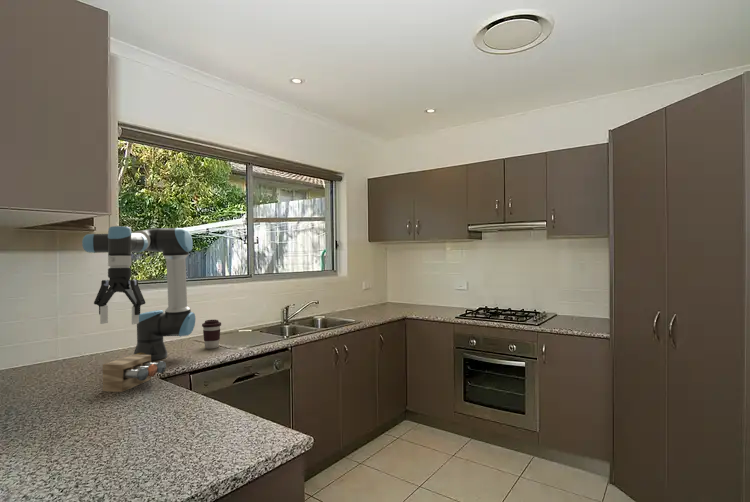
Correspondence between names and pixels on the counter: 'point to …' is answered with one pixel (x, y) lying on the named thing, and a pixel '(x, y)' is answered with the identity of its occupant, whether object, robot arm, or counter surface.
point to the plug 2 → (158, 366)
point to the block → (115, 373)
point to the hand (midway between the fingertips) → (119, 323)
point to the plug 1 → (136, 374)
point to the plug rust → (151, 369)
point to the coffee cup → (211, 333)
